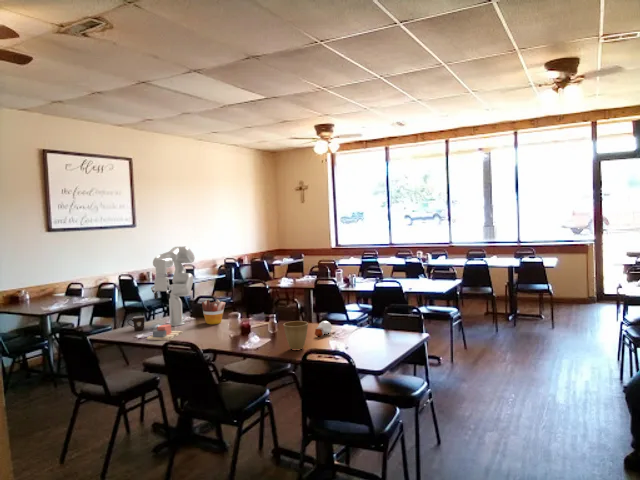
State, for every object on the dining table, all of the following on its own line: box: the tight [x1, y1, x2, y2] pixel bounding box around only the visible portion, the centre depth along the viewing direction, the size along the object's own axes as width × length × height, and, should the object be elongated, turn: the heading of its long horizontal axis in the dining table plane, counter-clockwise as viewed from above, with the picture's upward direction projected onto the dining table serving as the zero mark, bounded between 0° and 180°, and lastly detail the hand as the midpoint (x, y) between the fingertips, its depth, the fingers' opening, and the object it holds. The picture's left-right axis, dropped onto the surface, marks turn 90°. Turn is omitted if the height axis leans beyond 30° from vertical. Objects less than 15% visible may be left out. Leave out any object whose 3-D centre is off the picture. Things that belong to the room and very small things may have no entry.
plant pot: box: [283, 320, 309, 350], centre depth 303 cm, size 15×15×16 cm
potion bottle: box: [314, 320, 333, 337], centre depth 338 cm, size 9×10×15 cm
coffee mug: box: [127, 315, 146, 332], centre depth 371 cm, size 12×9×10 cm
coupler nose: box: [152, 329, 167, 337], centre depth 342 cm, size 4×8×4 cm, turn 78°
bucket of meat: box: [201, 298, 226, 325], centre depth 389 cm, size 20×16×20 cm
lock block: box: [156, 324, 172, 335], centre depth 348 cm, size 8×6×6 cm
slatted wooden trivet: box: [146, 330, 183, 341], centre depth 349 cm, size 20×16×2 cm
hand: (162, 299), depth 361 cm, fingers open, 9 cm apart
